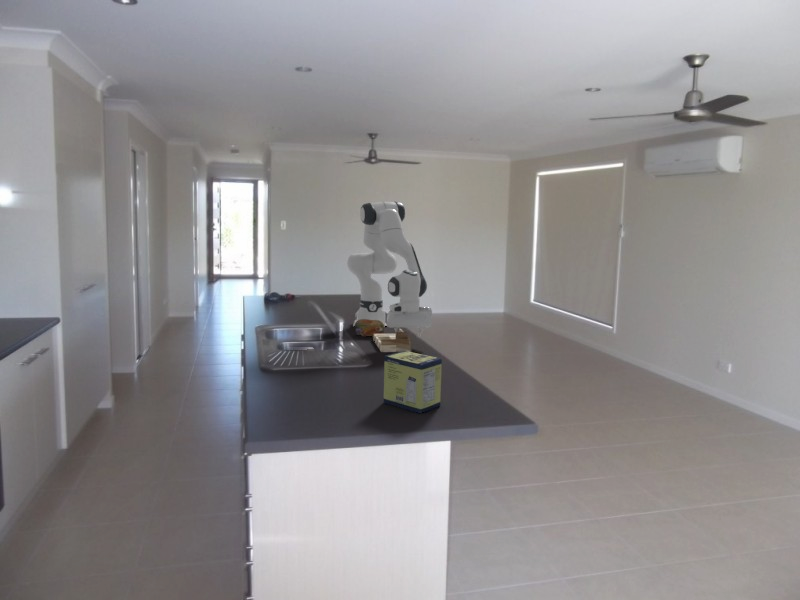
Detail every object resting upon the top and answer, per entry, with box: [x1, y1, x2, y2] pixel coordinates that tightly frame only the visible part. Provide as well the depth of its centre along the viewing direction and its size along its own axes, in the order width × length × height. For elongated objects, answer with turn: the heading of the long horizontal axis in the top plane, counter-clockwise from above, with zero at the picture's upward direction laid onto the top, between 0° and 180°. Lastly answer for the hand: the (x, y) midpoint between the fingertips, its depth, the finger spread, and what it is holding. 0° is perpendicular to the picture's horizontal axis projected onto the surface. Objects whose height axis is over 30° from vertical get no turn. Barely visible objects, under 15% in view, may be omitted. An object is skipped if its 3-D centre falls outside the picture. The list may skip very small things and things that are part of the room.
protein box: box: [383, 351, 443, 414], centre depth 185 cm, size 10×16×16 cm
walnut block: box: [395, 331, 409, 339], centre depth 260 cm, size 4×4×4 cm
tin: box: [353, 319, 386, 338], centre depth 285 cm, size 15×3×8 cm, turn 73°
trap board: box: [372, 328, 412, 353], centre depth 266 cm, size 24×13×6 cm, turn 11°
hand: (408, 337), depth 263 cm, fingers open, 8 cm apart
